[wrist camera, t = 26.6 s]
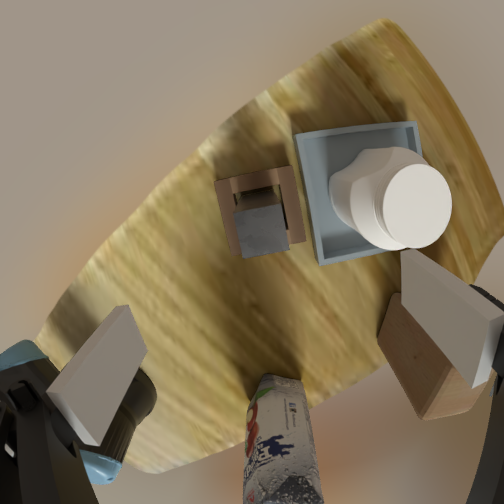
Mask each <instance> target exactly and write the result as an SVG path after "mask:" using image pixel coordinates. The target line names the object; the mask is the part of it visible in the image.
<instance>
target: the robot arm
mask: <svg viewBox="0 0 504 504" xmlns="http://www.w3.org/2000/svg"><path fill="white" fill-rule="evenodd" d="M400 253H401V292H402V296H401V304H402V305H403V306H404V307H405V308H406V310H407V311H408V312H409V313H410V314H411V315H412V316H413V317H414V319H415V320H416V321H417V322H418V323H419V324H420V326H421V327H422V328H423V329H424V330H425V331H426V333H427V334H428V335H429V336H430V337H431V339H432V340H433V341H434V342H435V343H436V344H437V346H438V347H439V348H440V349H441V351H442V352H443V353H444V354H445V355H446V357H447V358H448V359H449V360H450V362H451V363H452V364H453V365H454V367H455V368H456V369H457V371H458V372H459V373H460V374H461V376H462V377H463V378H464V380H465V381H466V382H467V383H468V385H469V386H470V387H471V389H472V388H474V387H476V386H478V385H480V384H482V383H484V382H486V381H488V378H489V375H490V372H491V369H492V368H493V369H494V370H495V371H496V372H497V376H496V379H495V382H494V385H493V387H492V390H491V392H490V395H489V396H492V395H493V400H492V406H491V413H490V418H489V423H488V429H487V433H486V438H485V443H484V446H483V451H482V454H481V458H480V462H479V466H478V469H477V472H476V475H475V479H474V482H473V485H472V488H471V491H470V493H469V496H468V499H467V502H466V504H504V304H503V303H502V302H500V301H499V300H496V298H495V297H493V296H492V295H490V294H489V293H488V292H487V291H485V290H483V289H482V288H480V287H477V286H475V285H472V284H470V285H467V284H466V283H465V282H463V281H462V280H460V279H459V278H458V277H456V276H455V275H453V274H452V273H450V272H449V271H447V270H446V269H445V268H443V267H442V266H440V265H439V264H437V263H436V262H434V261H433V260H431V259H430V258H428V257H427V256H425V255H424V254H422V253H421V252H419V251H417V250H416V249H410V250H405V251H401V252H400ZM147 351H148V350H147V348H146V345H145V343H144V341H143V339H142V336H141V334H140V332H139V329H138V327H137V325H136V322H135V320H134V317H133V315H132V312H131V310H130V307H129V305H123V306H116V307H115V308H114V309H113V310H112V312H111V313H110V314H109V315H108V316H107V317H106V318H105V320H104V321H103V322H102V323H101V324H100V325H99V327H98V328H97V329H96V330H95V331H94V332H93V334H92V335H91V336H90V337H89V338H88V340H87V341H86V342H85V343H84V344H83V346H82V347H81V348H80V349H79V350H78V352H77V353H76V354H75V355H74V357H73V358H72V359H71V360H70V362H69V363H67V364H66V366H65V367H64V368H63V369H62V371H61V372H60V371H59V370H58V369H57V368H56V367H55V366H54V364H53V363H52V362H51V361H50V360H49V357H48V356H47V355H45V354H44V353H43V352H42V351H41V350H40V349H39V348H38V346H37V345H36V344H35V343H34V342H32V341H30V340H22V341H20V342H18V343H16V344H15V345H13V346H12V347H10V348H8V349H7V350H6V351H4V352H3V353H1V354H0V504H99V503H98V500H97V498H96V496H95V493H94V491H93V488H92V486H91V483H94V484H102V485H103V484H109V483H111V482H113V481H114V480H115V478H116V476H117V474H118V472H119V470H120V469H121V468H122V463H123V460H124V457H125V455H126V452H127V449H128V447H129V444H130V441H131V439H132V436H133V433H134V431H135V429H136V426H137V425H139V424H140V423H141V422H142V420H143V419H144V418H145V417H146V416H148V415H149V414H150V413H151V412H152V410H153V408H154V405H155V403H156V400H157V394H156V390H155V387H154V385H153V384H152V382H151V381H150V379H149V378H148V377H147V376H146V375H145V374H144V373H143V372H142V371H141V370H139V369H138V368H139V366H140V364H141V362H142V360H143V359H144V357H145V355H146V353H147Z"/></svg>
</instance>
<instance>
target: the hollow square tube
mask: <svg viewBox="0 0 504 504" xmlns="http://www.w3.org/2000/svg"><path fill="white" fill-rule="evenodd" d="M276 184H279V189H280V194H281V199H282V204H283V209H284V214H285V219H286V224H287V225H285V227H286V233H287V238H288V244H289V245H290V244H295V243H300V242H305V241H306V236H305V230H304V224H303V219H302V213H301V208H300V202H299V197H298V192H297V187H296V182H295V177H294V172H293V167H292V165H287V166H282V167H277V168H272V169H267V170H262V171H257V172H252V173H248V174H243V175H238V176H234V177H229V178H225V179H221V180H217V181H215V182H214V185H215V189H216V193H217V197H218V202H219V206H220V210H221V214H222V218H223V222H224V227H225V231H226V235H227V239H228V243H229V247H230V251H231V255H232V256H235V255H240V254H242V251H241V247H240V243H239V238H238V234H237V229H236V225H235V221H234V216H233V212H234V210H235V208H236V206H237V199H236V195H235V193H238V192H243V191H247V190H252V189H257V188H261V187H266V186H271V185H276Z"/></svg>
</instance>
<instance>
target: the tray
mask: <svg viewBox="0 0 504 504" xmlns="http://www.w3.org/2000/svg"><path fill="white" fill-rule="evenodd" d="M293 140H294V145H295V150H296V154H297V159H298V164H299V169H300V174H301V179H302V184H303V190H304V195H305V200H306V206H307V211H308V217H309V223H310V228H311V234H312V241H313V247H314V253H315V259H316V261H317V263H318V265H319V266H323V265H327V264H332V263H337V262H341V261H346V260H351V259H355V258H360V257H364V256H369V255H373V254H378V253H382V252H387V251H391V250H386V249H382V248H379V247H377V246H375V245H373V244H372V243H370V242H369V241H368V240H366V239H365V238H364V237H363V236H362V235H361V234H360V233H359V232H357V231H356V230H355V229H353V228H351V227H350V226H348V225H347V224H345V223H344V222H343V221H342V220H341V219H340V218H339V217H338V216H337V214H336V213H335V211H334V210H333V208H332V205H331V202H330V198H329V180H330V177H331V176H332V175H333V174H334V173H335V172H338V171H340V170H342V169H344V168H346V167H347V166H348V165H350V164H351V163H352V162H353V161H354V160H355V158H356V157H357V156H358V154H359V153H360V152H361V151H362V150H363V149H378V148H390V147H403V148H407V149H409V150H412V151H414V152H415V153H417V154H419V155H420V156H421V157H422V158H423V156H422V149H421V143H420V138H419V132H418V127H417V122H416V121H404V122H390V123H378V124H368V125H358V126H350V127H342V128H334V129H327V130H320V131H313V132H307V133H300V134H295V135H294V136H293Z"/></svg>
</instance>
